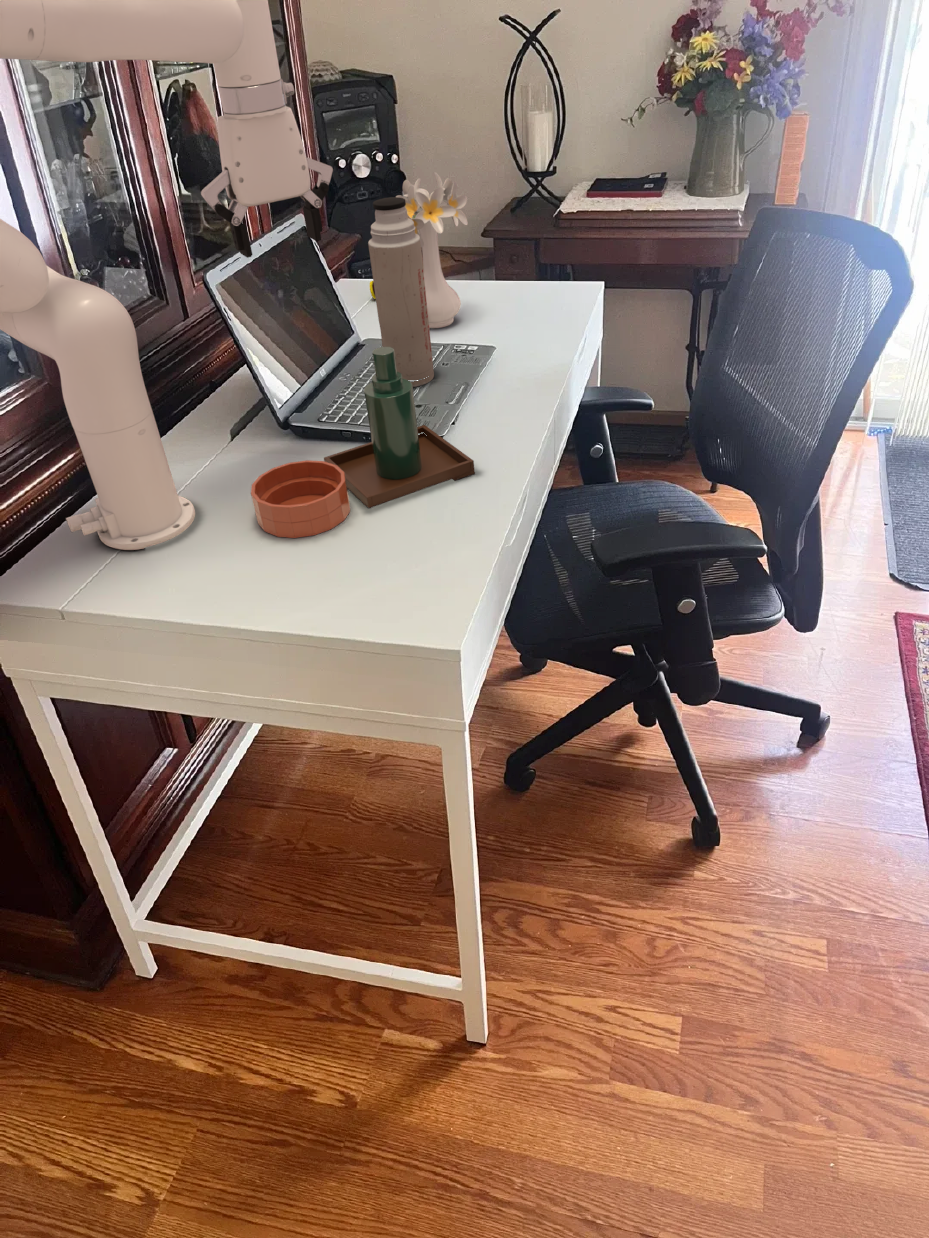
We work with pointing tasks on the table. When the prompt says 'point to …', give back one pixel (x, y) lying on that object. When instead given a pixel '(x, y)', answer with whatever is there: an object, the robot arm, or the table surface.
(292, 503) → the bowl
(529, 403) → the table surface
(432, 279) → the flower vase
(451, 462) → the tray
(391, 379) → the bottle
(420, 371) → the thermos bottle
